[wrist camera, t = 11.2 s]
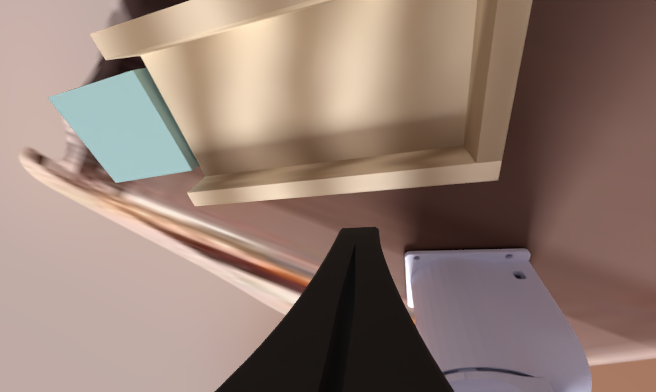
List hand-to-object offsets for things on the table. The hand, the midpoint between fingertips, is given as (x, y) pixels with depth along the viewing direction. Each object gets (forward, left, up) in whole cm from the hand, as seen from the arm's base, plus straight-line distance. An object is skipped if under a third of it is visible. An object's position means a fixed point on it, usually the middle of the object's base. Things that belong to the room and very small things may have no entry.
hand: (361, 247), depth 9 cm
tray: (+3, -4, -9) cm, 11 cm away
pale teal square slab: (+17, -4, -10) cm, 20 cm away
